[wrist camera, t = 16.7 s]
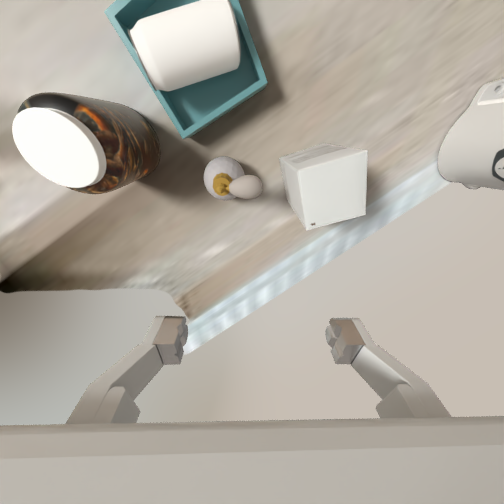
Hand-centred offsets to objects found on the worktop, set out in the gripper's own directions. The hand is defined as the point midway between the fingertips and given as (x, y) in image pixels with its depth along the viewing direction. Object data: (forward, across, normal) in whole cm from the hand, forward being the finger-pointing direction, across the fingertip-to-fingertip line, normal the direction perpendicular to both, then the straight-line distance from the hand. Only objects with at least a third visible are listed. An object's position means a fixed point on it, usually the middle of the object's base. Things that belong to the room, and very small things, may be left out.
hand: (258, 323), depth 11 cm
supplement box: (+34, -11, -2) cm, 35 cm away
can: (+29, +3, -19) cm, 35 cm away
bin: (+33, +8, -17) cm, 39 cm away
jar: (+34, +22, -6) cm, 41 cm away
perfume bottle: (+34, +4, -2) cm, 34 cm away
